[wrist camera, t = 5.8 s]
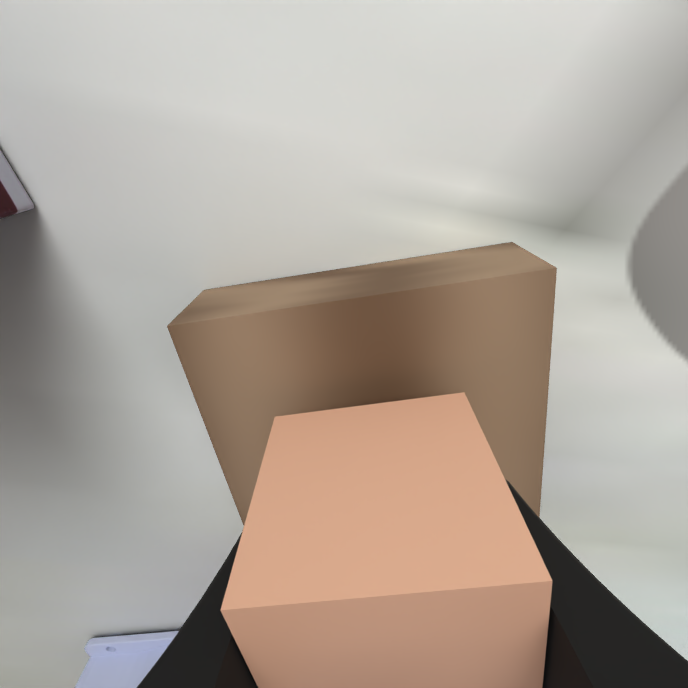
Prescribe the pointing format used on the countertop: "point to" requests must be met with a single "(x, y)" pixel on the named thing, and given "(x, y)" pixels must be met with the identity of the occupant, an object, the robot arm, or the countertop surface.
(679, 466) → the countertop surface
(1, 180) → the supplement box
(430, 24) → the countertop surface
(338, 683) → the terracotta cube
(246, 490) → the walnut base
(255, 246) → the countertop surface
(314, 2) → the countertop surface
